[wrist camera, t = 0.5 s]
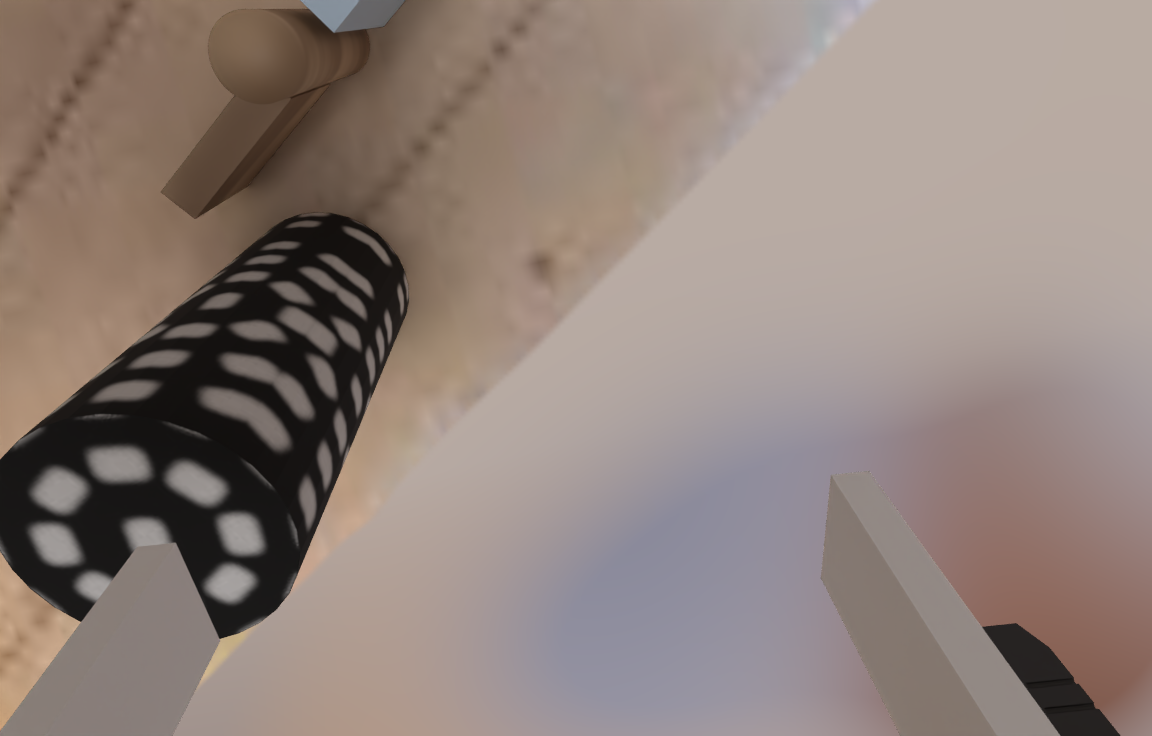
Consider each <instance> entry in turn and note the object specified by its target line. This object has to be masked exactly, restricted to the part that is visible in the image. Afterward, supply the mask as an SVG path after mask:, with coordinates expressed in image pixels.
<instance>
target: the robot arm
mask: <svg viewBox="0 0 1152 736" xmlns="http://www.w3.org/2000/svg"><path fill="white" fill-rule="evenodd" d="M821 579H822V581H823V583H824V585H825V587H826V589H827V591H828V593H829V595H830V597H831V599H832V601H833V603H834V605H835V607H836V609H837V611H838V613H839V615H840V617H841V619H842V621H843V623H844V624H845V627H846V629H847V631H848V633H849V635H850V637H851V639H852V641H853V643H854V645H855V647H856V649H857V651H858V653H859V655H860V657H861V659H862V661H863V663H864V665H865V666H866V668H867V671H868V673H869V674H870V677H871V679H872V681H873V683H874V684H875V687H876V689H877V691H878V693H879V694H880V697H881V699H882V701H883V703H884V704H885V706H886V708H887V710H888V712H889V714H890V716H891V718H892V720H893V722H894V724H895V726H896V728H897V730H898V732H899V734H900V736H1120V734H1119V733H1118V732H1117V731H1116V730H1115V728H1114V727H1113V726H1112V725H1111V723H1110V722H1109V721H1108V720H1107V718H1106V717H1105V716H1104V715H1103V714H1102V712H1101V711H1100V710H1099V709H1096V708H1095V707H1094V702H1093V701H1092V700H1091V699H1090V697H1089V696H1088V695H1087V694H1086V692H1085V691H1084V690H1083V689H1082V688H1081V686H1080V685H1079V684H1076V683H1075V682H1074V677H1073V676H1072V675H1071V674H1070V672H1069V671H1068V670H1067V669H1066V668H1065V666H1064V665H1063V664H1062V663H1061V661H1060V660H1059V659H1058V658H1057V656H1056V655H1055V654H1054V653H1053V651H1051V649H1050V648H1049V647H1048V646H1046V645H1045V644H1044V643H1042V642H1041V641H1040V640H1038V639H1037V638H1036V637H1034V636H1033V635H1031V634H1030V633H1029V632H1027V631H1026V630H1025V629H1023V628H1022V627H1021V626H1019V625H1018V624H1016V623H1015V624H1006V625H996V626H986V627H981V625H980V624H979V623H978V621H977V620H976V618H975V617H974V616H973V614H972V613H971V612H970V610H969V609H968V607H967V606H966V605H965V603H964V602H963V600H962V599H961V598H960V596H959V595H958V593H957V592H956V591H955V589H954V588H953V587H952V585H951V584H950V582H949V581H948V580H947V578H946V577H945V576H944V574H943V573H942V571H941V570H940V569H939V567H938V566H937V565H936V563H935V562H934V560H933V559H932V558H931V556H930V555H929V554H928V552H927V551H926V549H925V548H924V547H923V545H922V544H921V542H920V541H919V540H918V538H917V537H916V535H915V534H914V533H913V531H912V530H911V529H910V527H909V526H908V524H907V523H906V522H905V520H904V519H903V517H902V516H901V515H900V513H899V512H898V511H897V509H896V508H895V506H894V505H893V504H892V502H891V501H890V500H889V498H888V497H887V495H886V494H885V493H884V491H883V490H882V488H881V487H880V486H879V484H878V483H877V482H876V480H875V479H874V477H873V476H872V475H871V473H870V472H869V471H864V472H855V473H845V474H835V475H831V479H830V490H829V500H828V511H827V520H826V531H825V541H824V552H823V562H822V572H821ZM219 642H220V639H219V637H218V635H217V633H216V630H215V628H214V626H213V624H212V622H211V619H210V617H209V615H208V613H207V611H206V608H205V606H204V604H203V602H202V600H201V597H200V595H199V593H198V591H197V589H196V586H195V584H194V582H193V580H192V578H191V575H190V573H189V571H188V569H187V567H186V564H185V562H184V560H183V558H182V556H181V553H180V551H179V549H178V547H177V545H176V543H168V544H158V545H149V546H139V547H137V548H136V549H135V550H134V552H133V553H132V554H131V556H130V557H129V558H128V560H127V561H126V563H125V564H124V565H123V567H122V568H121V569H120V571H119V572H118V573H117V575H116V576H115V577H114V579H113V580H112V581H111V583H110V584H109V585H108V587H107V588H106V589H105V591H104V592H103V593H102V595H101V596H100V598H99V599H98V600H97V602H96V603H95V604H94V606H93V607H92V608H91V610H90V611H89V612H88V614H87V615H86V616H85V618H84V619H83V620H82V622H81V623H80V624H79V626H78V627H77V629H76V630H75V631H74V633H73V634H72V635H71V637H70V638H69V639H68V641H67V642H66V643H65V645H64V646H63V647H62V649H61V650H60V651H59V653H58V654H57V655H56V657H55V658H54V660H53V661H52V662H51V664H50V665H49V666H48V668H47V669H46V670H45V672H44V673H43V674H42V676H41V677H40V678H39V680H38V681H37V682H36V684H35V685H34V686H33V688H32V689H31V690H30V692H29V693H28V695H27V696H26V697H25V699H24V700H23V701H22V703H21V704H20V705H19V707H18V708H17V709H16V711H15V712H14V713H13V715H12V716H11V717H10V719H9V720H8V721H7V723H6V724H5V726H4V727H3V728H2V730H1V731H0V736H173V734H174V732H175V730H176V728H177V726H178V724H179V722H180V720H181V717H182V716H183V714H184V712H185V710H186V708H187V706H188V704H189V702H190V700H191V698H192V696H193V694H194V692H195V690H196V688H197V686H198V684H199V682H200V680H201V678H202V676H203V674H204V672H205V670H206V668H207V666H208V664H209V662H210V660H211V658H212V656H213V654H214V652H215V650H216V648H217V646H218V644H219Z"/></svg>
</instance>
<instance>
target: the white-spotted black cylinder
mask: <svg viewBox="0 0 1152 736" xmlns="http://www.w3.org/2000/svg"><path fill="white" fill-rule="evenodd" d="M408 302H409V293H408V283H407V279H406V275H405V271H404V269H403V267H402V265H401V263H400V261H399V259H398V257H397V256H396V254H395V253H394V251H393V250H392V249H391V247H390V246H389V245H388V244H387V243H386V242H385V241H384V240H383V239H382V238H381V237H380V236H379V235H378V234H377V233H375V232H374V231H372V230H371V229H369V228H368V227H366V226H365V225H363V224H361V223H359V222H357V221H355V220H352V219H350V218H348V217H344V216H340V215H336V214H331V213H308V214H301V215H297V216H294V217H292V218H289V219H286V220H284V221H282V222H281V223H279V224H278V225H276V226H274V227H273V228H271V229H270V230H269V231H268V232H267V233H265V234H264V235H263V236H262V237H261V238H260V239H258V240H257V241H256V242H255V243H254V244H252V245H251V246H250V247H249V248H248V249H246V250H245V251H244V252H243V253H242V254H240V255H239V256H238V257H237V258H236V259H234V260H233V261H232V262H231V263H230V264H229V265H227V266H226V267H225V268H224V269H223V270H221V271H220V272H219V273H218V274H217V275H215V276H214V277H213V278H212V279H211V280H209V281H208V282H207V283H206V284H205V285H203V286H202V287H201V288H200V289H199V290H197V291H196V292H195V293H194V294H193V295H192V296H190V297H189V298H188V299H187V300H186V301H184V302H183V303H182V304H181V305H180V306H178V307H177V308H176V309H175V310H174V311H172V312H171V313H170V314H169V315H168V316H166V317H165V318H164V319H163V320H162V321H160V322H159V323H158V324H157V325H156V326H155V327H153V328H152V329H151V330H150V331H149V332H147V333H146V334H145V335H144V336H143V337H141V338H140V339H139V340H138V341H137V342H135V343H134V344H133V345H132V346H131V347H129V348H128V349H127V350H126V351H125V352H124V353H122V354H121V355H120V356H119V357H118V358H116V359H115V360H114V361H113V362H112V363H110V364H109V365H108V366H107V367H106V368H104V369H103V370H102V371H101V372H100V373H98V374H97V375H96V376H95V377H94V378H92V379H91V380H90V381H89V382H88V383H87V384H85V385H84V386H83V387H82V388H81V389H79V390H78V391H77V392H76V393H75V394H73V395H72V396H71V397H70V398H69V399H67V400H66V401H65V402H64V403H63V404H61V405H60V406H59V407H58V408H57V409H56V410H54V411H53V412H52V413H51V414H50V415H48V416H47V417H46V418H45V419H44V420H42V421H41V422H40V423H39V424H38V425H36V426H35V427H34V428H33V429H32V430H30V431H29V432H28V433H27V434H26V435H24V436H23V437H22V438H21V439H20V440H19V441H17V442H16V443H15V444H14V446H13V447H12V448H11V449H10V450H9V451H8V452H7V453H6V454H5V455H4V456H3V457H2V458H1V459H0V552H1V553H2V555H3V556H4V558H5V559H6V561H7V562H8V564H9V565H10V567H11V568H12V570H13V571H14V572H15V573H16V574H17V575H18V576H19V577H20V578H21V579H22V580H23V581H24V582H25V583H26V584H27V586H28V587H29V588H30V589H31V590H33V591H34V592H35V593H37V594H38V595H39V596H40V597H42V598H43V599H44V600H46V601H47V602H48V603H50V604H51V605H52V606H54V607H55V608H57V609H59V610H61V611H62V612H64V613H66V614H68V615H69V616H71V617H73V618H75V619H76V620H78V621H80V622H82V620H83V619H84V618H85V616H86V615H87V614H88V612H89V611H90V610H91V608H92V607H93V606H94V604H95V603H96V602H97V600H98V599H99V598H100V596H101V595H102V593H103V592H104V591H105V589H106V588H107V587H108V585H109V584H110V583H111V581H112V580H113V579H114V577H115V576H116V575H117V573H118V572H119V571H120V569H121V568H122V567H123V565H124V564H125V563H126V561H127V560H128V558H129V557H130V556H131V554H132V553H133V552H134V550H135V549H136V548H137V547H139V546H149V545H158V544H168V543H176V545H177V547H178V549H179V551H180V553H181V556H182V558H183V560H184V562H185V564H186V567H187V569H188V571H189V573H190V575H191V578H192V580H193V582H194V584H195V586H196V589H197V591H198V593H199V595H200V597H201V600H202V602H203V604H204V606H205V608H206V611H207V613H208V615H209V617H210V619H211V622H212V624H213V626H214V628H215V630H216V633H217V635H218V637H219V639H221V638H224V637H228V636H231V635H234V634H238V633H240V632H242V631H244V630H246V629H248V628H250V627H252V626H254V625H256V624H258V623H260V622H261V621H263V620H264V619H265V618H266V617H268V616H269V615H270V614H271V613H273V612H274V611H275V610H276V609H277V608H278V607H279V606H280V605H281V603H282V602H283V601H284V599H285V598H286V597H287V596H288V594H289V593H290V591H291V589H292V586H293V584H294V581H295V579H296V577H297V574H298V572H299V570H300V567H301V565H302V562H303V560H304V558H305V555H306V553H307V550H308V548H309V546H310V543H311V541H312V538H313V536H314V534H315V531H316V529H317V526H318V524H319V522H320V519H321V517H322V514H323V512H324V510H325V507H326V505H327V502H328V500H329V498H330V495H331V493H332V490H333V488H334V486H335V483H336V481H337V479H338V476H339V474H340V471H341V469H342V467H343V464H344V462H345V459H346V457H347V455H348V452H349V450H350V447H351V445H352V443H353V440H354V438H355V435H356V433H357V431H358V428H359V426H360V423H361V421H362V419H363V416H364V414H365V411H366V409H367V407H368V404H369V402H370V399H371V397H372V395H373V392H374V390H375V387H376V385H377V383H378V380H379V378H380V375H381V373H382V371H383V368H384V366H385V363H386V361H387V359H388V356H389V354H390V351H391V349H392V347H393V344H394V342H395V339H396V337H397V335H398V332H399V330H400V328H401V325H402V323H403V320H404V318H405V316H406V313H407V307H408Z"/></svg>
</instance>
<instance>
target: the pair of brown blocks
mask: <svg viewBox="0 0 1152 736" xmlns="http://www.w3.org/2000/svg"><path fill="white" fill-rule="evenodd" d="M208 52H209V59H210V62H211V65H212V68H213V70H214V72H215V74H216V76H217V78H218V79H219V81H220V82H221V83H222V84H223V85H224V87H225V88H226V89H227V90H229V91H230V92H231V93H232V94H234V95H235V96H234V97H233V99H232V100H231V101H230V103H229V104H228V105H227V106H226V108H225V109H224V110H223V112H222V113H221V114H220V116H219V117H218V118H217V119H216V121H215V122H214V123H213V125H212V126H211V127H210V129H209V130H208V131H207V132H206V134H205V135H204V136H203V138H202V139H201V140H200V142H199V143H198V144H197V145H196V147H195V148H194V149H193V151H192V152H191V153H190V155H189V156H188V157H187V158H186V160H185V161H184V162H183V164H182V165H181V166H180V168H179V169H178V170H177V171H176V173H175V174H174V175H173V177H172V178H171V179H170V181H169V182H168V183H167V184H166V186H165V187H164V188H163V190H162V191H161V193H162V194H164V195H165V196H166V197H167V198H169V199H170V200H171V201H172V202H174V203H175V204H176V205H178V206H179V207H180V208H181V209H183V210H184V211H185V212H187V213H188V214H189V215H190V216H192V217H193V218H194V219H196V218H197V217H199V216H201V215H202V214H204V213H206V212H207V211H209V210H210V209H212V208H214V207H215V206H217V205H218V204H220V203H222V202H223V201H225V200H226V199H228V198H230V197H231V196H233V195H234V194H236V193H238V192H239V191H241V190H242V189H244V188H246V187H247V186H248V185H249V183H250V182H251V181H252V180H253V179H254V177H255V176H256V175H257V174H258V172H259V171H260V170H261V169H262V167H263V166H264V165H265V164H266V163H267V161H268V160H269V159H270V158H271V156H272V155H273V154H274V153H275V152H276V150H277V149H278V148H279V147H280V145H281V144H282V143H283V142H284V141H285V139H286V138H287V137H288V136H289V134H290V133H291V132H292V131H293V130H294V128H295V127H296V126H297V125H298V123H299V122H300V121H301V120H302V118H303V117H304V116H305V115H306V114H307V112H308V111H309V110H310V109H311V107H312V106H313V105H314V104H315V103H316V101H317V100H318V99H319V98H320V96H321V95H322V94H323V93H324V92H325V90H326V89H327V88H328V87H329V85H330V82H333V81H335V80H338V79H341V78H344V77H346V76H349V75H352V74H355V73H356V72H358V71H359V70H361V69H362V68H363V66H364V65H365V64H366V62H367V60H368V57H369V52H370V43H369V38H368V34H367V32H366V30H365V29H361V30H352V31H344V32H336V33H334V32H333V31H332V30H331V29H329V28H328V27H327V26H326V25H325V24H324V23H323V22H322V21H321V20H320V19H319V18H318V17H317V16H316V15H315V14H314V13H313V12H312V11H311V10H310V9H241V10H235V11H232V12H229V13H227V14H225V15H224V16H222V17H221V18H220V19H219V20H218V21H217V22H216V24H215V25H214V27H213V28H212V31H211V33H210V37H209V43H208Z"/></svg>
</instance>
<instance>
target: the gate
mask: <svg viewBox="0 0 1152 736" xmlns="http://www.w3.org/2000/svg"><path fill="white" fill-rule="evenodd" d="M300 1H301V2H303V3H304V4H305V5H306V6H307V7H308V8H309V9H310V10H311V11H312V12H313V13H314V14H315V15H316V16H317V17H318V18H319V19H320V20H321V21H322V22H323V23H324V24H325V25H326V26H327V27H328V28H329V29H331V30H332V31H333V32H334V33H336V32H344V31H352V30H361V29H369V28H377V27H384V26H385V25H386V23H387V22H388V21H389V20H390V18H391V17H392V16H393V15H394V14H395V12H396V11H397V10H398V9H399V7H400V6H401V5H402V4H403V3H404V1H405V0H300Z"/></svg>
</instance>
